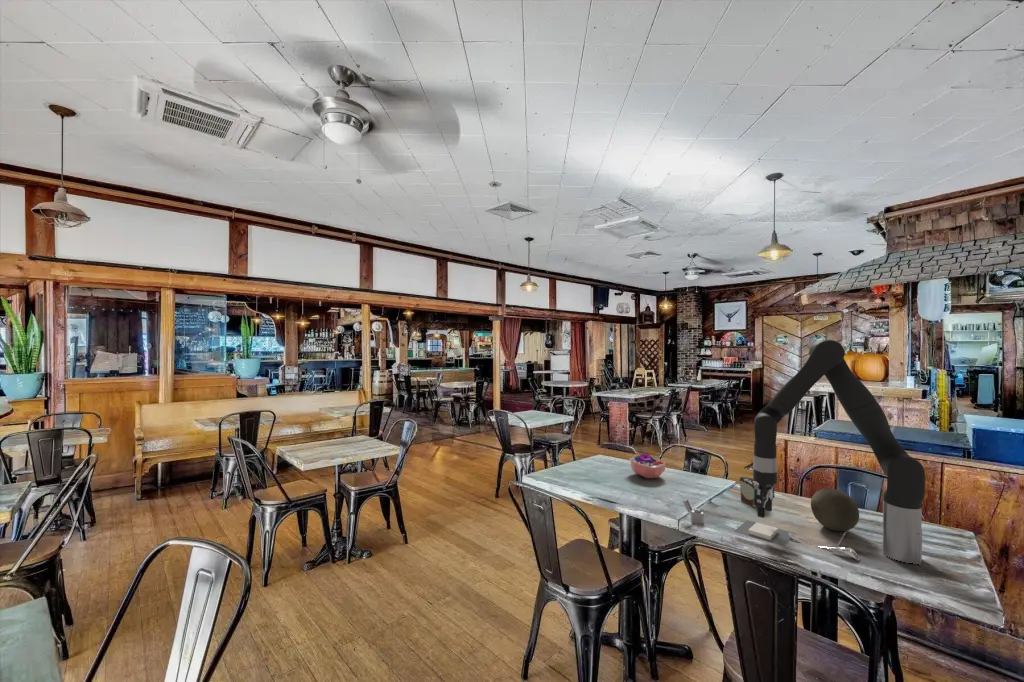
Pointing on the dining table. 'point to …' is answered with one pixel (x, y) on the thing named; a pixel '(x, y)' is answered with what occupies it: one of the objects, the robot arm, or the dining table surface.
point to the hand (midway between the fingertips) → (764, 513)
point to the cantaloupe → (835, 509)
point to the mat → (779, 539)
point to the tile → (763, 531)
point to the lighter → (694, 513)
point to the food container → (748, 490)
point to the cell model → (647, 466)
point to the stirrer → (841, 548)
